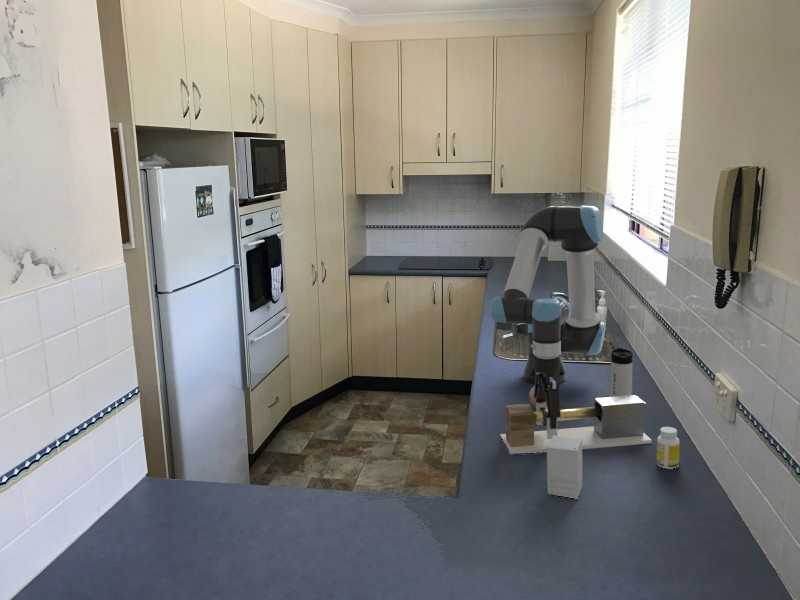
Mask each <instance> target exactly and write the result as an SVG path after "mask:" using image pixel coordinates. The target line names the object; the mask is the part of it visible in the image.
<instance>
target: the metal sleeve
mask: <svg viewBox="0 0 800 600" xmlns="http://www.w3.org/2000/svg"><path fill="white" fill-rule="evenodd" d="M593 399H594V403H593V405H594V406H593V407H599V406H600V407H601V417H597V418H593V426H594V431H595V432H596V433H597V434H598V435H599V437H600V438H601V439H611V438H623V437H634V436H643V433H644V426H645V425H644V423H645V422H646V419H647V403H646V402H645V401H644V400H642V399H641V398H640V397H639V396H638V395H636V394H632V395H628V396H615V397H610V396H607V397H605V396H604V397H594V398H593Z"/></svg>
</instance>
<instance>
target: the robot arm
mask: <svg viewBox="0 0 800 600" xmlns="http://www.w3.org/2000/svg"><path fill="white" fill-rule="evenodd" d="M603 229H604V227H603V219H602V214H601V212H600V210H599V209H598V207H596V206H593V205H565V206H564V205H562V206H559V205H557V206H555V205H554V206H553V205H551V206H546V207H543V208H541V209H539V210H538V211H536V212H535V213H533V214H532V215H531V216H530V217H529V218H528V219H527V220H526V221H525V223H523V225H522V227H521V229H520V232H519V234H518V242H519V243H518V244H519V245H518V248H517V251H516V254H515V256H514V259H513V260H514V261H513V264H512V266H511V270H510V271H509V272H510V273H509V276H508V279H507V281H506V285H505V288H504V289H503V290H504V291H503V294H502V296H496V297H495V296H494V298H493V299H492V300H491V303H490V315H491V319H492V320H493V321H494V322H497V323H503V324H523V325H524V324H525V325H527V344H528V345H527V351H528V356H527V360H526V364H525V366H524V369H523V380H525V381H526V380H527V381H526V382H528V381H529V383H531V382H532V383H531V384H534V386H533V387H534V398H536V402H537V403H536V407H535V408H536V409H535V412H538V411H540V408H542V407H546V403H547V410H548V416H546V418H547V426H546V430H547V439H552V437H553V435H554V436H557V429H558V421H557V418H558V417H561V414H560V410H561V406H560V405H561V403H560V393H559V391H560V390H559V387H560V384H561V383H564V382H565V380H567V373H566V369H565V366H564V362H563V360H562V353H564V354H565V353H566V354H567V353H568V354H578V355H586V356H589V355H592V356H593V355H595V356H597V355H599V354H600V353H601V351H602V348H603V345H604V339H605V335H606V334H605V332H606V322H604V321H601V316H600V314H599V313H597V312H596V293H595V292H596V291H595V265H594V264H595V262H594V261H595V260H594V259H595V257H594V251H595V250H596V249H597V248H598V247H599V243H601V242H602V241H603V236H604V231H603ZM551 242H552V243H560V247H561V250H562V251H564V252H566V253H565V254H566V270H567V271H566V272H567V273H566V274H567V286H568V287H567V289H568V301H567V300H566V299H565V298H564V297H560V296H554V297H550V298H546V297H545V298H529V297H530V294H531V290H532V287H533V283H534V280H535V278H536V274H537V270H538V266H539V263H540V260H541V258H542V257H541V256H542V254H543V250H544V249H546V248H547V247H548V244H549V243H551ZM543 402H545V403H543ZM536 426H543V425H542V423H541V422H537V423H536Z"/></svg>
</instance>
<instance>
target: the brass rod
mask: <svg viewBox="0 0 800 600" xmlns="http://www.w3.org/2000/svg"><path fill="white" fill-rule="evenodd" d="M560 414H561V417H558V418H557V422H559V421H560V422H561V421H570V420H572V421H573V420H581V419H583V420H584V419H594V418H597V417H601V407H600V406H599V407H594V406H591V407H578V408H577V407H575V408H565V409H560ZM546 416H548V410H547V407H542V408H540V411H538V412H536V411H534V424H535V423H536V424H537V422H541V423H542V425H541V426H543V427H547V418H546Z"/></svg>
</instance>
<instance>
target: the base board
mask: <svg viewBox="0 0 800 600" xmlns="http://www.w3.org/2000/svg"><path fill="white" fill-rule="evenodd" d="M500 436H501V438H502V439H503V441H504V443H505V444H506V446H507V448H508V449H509V451H510V453H532V452H533V453H534V454H537V453H536V452H539V453H538V454H543V452H545V453H547V446H548V444H549V442H550V441H551V439H547V429H545V430H536V431H535V430H534V445H530V446H519V447H511V446H510V444H509V442H508V441H507V439H506V433H500V434H499V437H500ZM557 436H562V437H570V438H579V439H582V450H589V449H590V450H591V449H603V448H612V447H623V446H624V447H626V446H634V445H646V444H648V445H649V444H652V441H653V440H652V439H651V437H649V436H648V435H647V434H646V433H645V432H643V436H634V437H623V438H611V439H601V438H600V437H599V435H598V434H597V433H596V432H595V431H594V425H593V426H583V427H570V428H559V429H558V428H557ZM501 438H500V439H501ZM503 441H502V442H503ZM504 443H503V444H504ZM507 448H506V449H507ZM510 453H509V454H510Z"/></svg>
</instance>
